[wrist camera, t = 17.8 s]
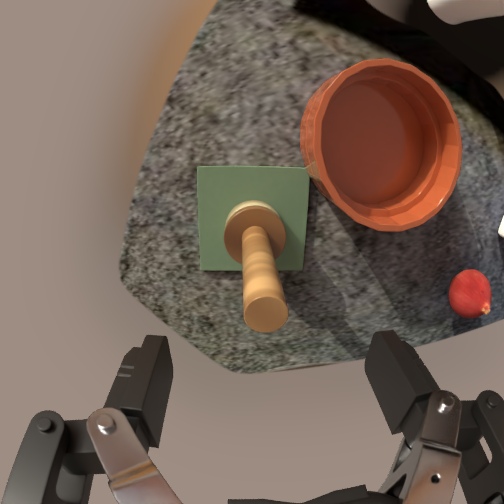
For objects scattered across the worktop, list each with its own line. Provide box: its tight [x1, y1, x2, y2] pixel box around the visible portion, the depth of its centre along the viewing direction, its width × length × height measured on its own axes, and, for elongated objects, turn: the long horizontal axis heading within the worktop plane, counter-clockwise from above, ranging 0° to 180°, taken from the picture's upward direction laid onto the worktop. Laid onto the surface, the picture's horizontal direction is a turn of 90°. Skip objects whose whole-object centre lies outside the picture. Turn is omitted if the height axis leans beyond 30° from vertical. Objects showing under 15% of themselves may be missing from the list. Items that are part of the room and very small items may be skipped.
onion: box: [448, 269, 492, 318], centre depth 27 cm, size 6×6×8 cm
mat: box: [197, 166, 310, 271], centre depth 27 cm, size 10×10×1 cm
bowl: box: [300, 59, 462, 232], centre depth 22 cm, size 14×14×6 cm
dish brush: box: [224, 200, 289, 333], centre depth 21 cm, size 5×5×14 cm
